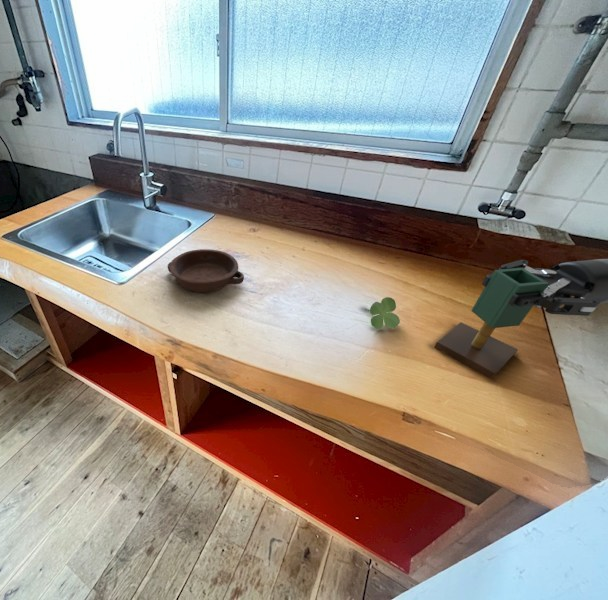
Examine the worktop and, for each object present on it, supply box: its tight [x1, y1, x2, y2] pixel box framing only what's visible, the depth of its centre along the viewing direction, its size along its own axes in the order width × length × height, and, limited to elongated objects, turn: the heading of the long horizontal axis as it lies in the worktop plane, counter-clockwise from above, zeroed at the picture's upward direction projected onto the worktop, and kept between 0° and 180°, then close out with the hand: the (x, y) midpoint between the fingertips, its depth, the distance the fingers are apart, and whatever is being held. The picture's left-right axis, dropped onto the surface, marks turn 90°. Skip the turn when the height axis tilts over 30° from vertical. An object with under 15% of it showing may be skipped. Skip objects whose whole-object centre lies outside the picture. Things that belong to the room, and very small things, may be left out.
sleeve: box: [470, 268, 549, 329], centre depth 56 cm, size 5×5×9 cm
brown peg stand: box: [433, 321, 519, 379], centre depth 61 cm, size 10×10×9 cm
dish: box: [166, 248, 245, 293], centre depth 86 cm, size 18×22×5 cm
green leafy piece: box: [364, 296, 401, 330], centre depth 72 cm, size 7×8×7 cm
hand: (498, 290), depth 54 cm, fingers closed on sleeve, 5 cm apart
